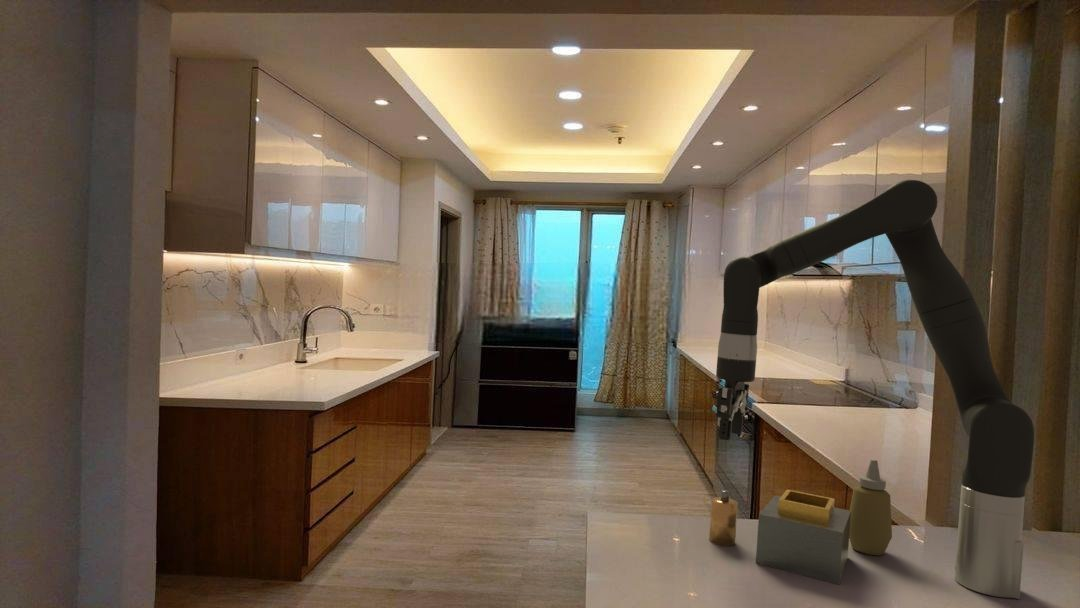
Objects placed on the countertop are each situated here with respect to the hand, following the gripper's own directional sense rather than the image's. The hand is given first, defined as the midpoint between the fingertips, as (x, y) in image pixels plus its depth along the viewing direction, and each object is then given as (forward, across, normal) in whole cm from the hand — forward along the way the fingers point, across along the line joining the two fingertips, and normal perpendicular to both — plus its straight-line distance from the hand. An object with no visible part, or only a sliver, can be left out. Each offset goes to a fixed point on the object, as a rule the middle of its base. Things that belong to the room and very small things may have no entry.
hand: (730, 436), depth 130 cm
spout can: (+20, -2, -1) cm, 21 cm away
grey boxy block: (+20, -2, -16) cm, 26 cm away
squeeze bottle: (+20, +13, -25) cm, 35 cm away
